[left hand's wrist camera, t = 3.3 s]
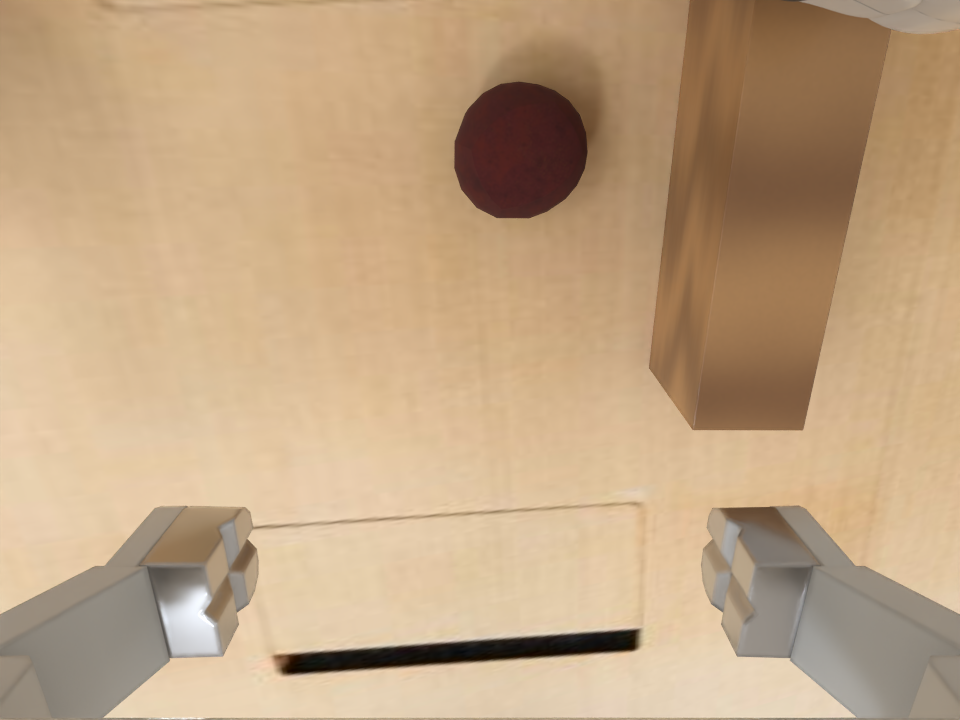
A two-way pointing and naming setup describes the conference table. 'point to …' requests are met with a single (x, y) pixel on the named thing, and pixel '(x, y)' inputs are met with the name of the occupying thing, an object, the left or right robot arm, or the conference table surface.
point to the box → (759, 205)
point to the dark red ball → (520, 150)
